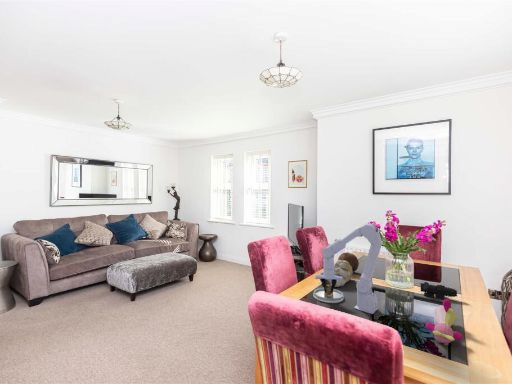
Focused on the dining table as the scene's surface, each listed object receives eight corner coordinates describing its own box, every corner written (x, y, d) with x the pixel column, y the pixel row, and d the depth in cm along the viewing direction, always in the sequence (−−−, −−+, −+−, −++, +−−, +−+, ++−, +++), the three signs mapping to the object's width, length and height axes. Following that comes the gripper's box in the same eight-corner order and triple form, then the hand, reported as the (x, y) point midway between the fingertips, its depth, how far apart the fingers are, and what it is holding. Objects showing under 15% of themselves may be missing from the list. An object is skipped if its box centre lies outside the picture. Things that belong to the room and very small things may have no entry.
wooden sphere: (362, 272, 197) (362, 252, 197) (352, 277, 187) (352, 256, 187) (343, 268, 208) (344, 249, 208) (333, 272, 198) (333, 252, 198)
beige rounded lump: (314, 280, 178) (341, 266, 191) (329, 298, 168) (356, 282, 181) (321, 265, 168) (348, 252, 181) (337, 283, 159) (365, 268, 172)
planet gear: (334, 296, 148) (334, 285, 148) (330, 299, 144) (330, 288, 144) (326, 294, 151) (326, 283, 151) (322, 296, 147) (322, 285, 147)
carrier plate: (348, 296, 152) (348, 290, 152) (335, 305, 140) (335, 299, 140) (322, 289, 164) (322, 283, 164) (307, 297, 152) (307, 291, 152)
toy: (429, 314, 129) (422, 344, 105) (432, 290, 128) (426, 315, 104) (461, 325, 122) (461, 359, 98) (464, 299, 120) (466, 328, 97)
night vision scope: (457, 304, 148) (457, 297, 141) (419, 297, 158) (418, 291, 152) (456, 290, 152) (456, 283, 146) (420, 285, 162) (418, 278, 156)
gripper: (341, 267, 150) (341, 290, 150) (315, 265, 153) (315, 288, 153) (342, 270, 143) (342, 295, 143) (315, 268, 146) (315, 293, 146)
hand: (328, 292), depth 148 cm, fingers closed on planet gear, 3 cm apart
